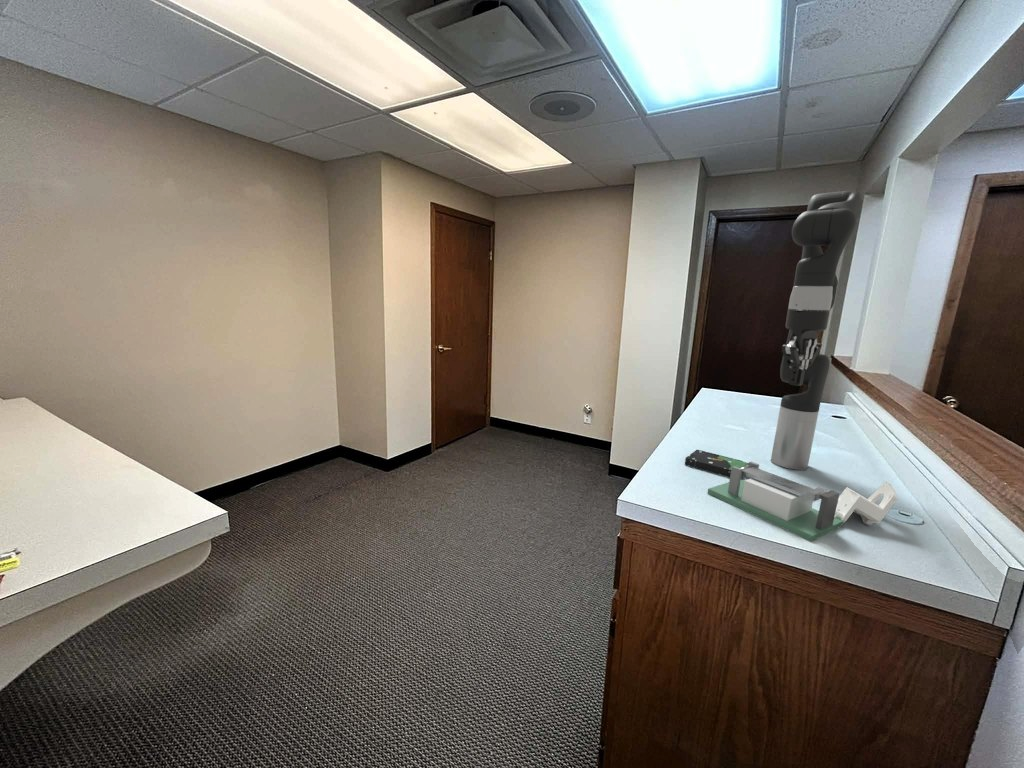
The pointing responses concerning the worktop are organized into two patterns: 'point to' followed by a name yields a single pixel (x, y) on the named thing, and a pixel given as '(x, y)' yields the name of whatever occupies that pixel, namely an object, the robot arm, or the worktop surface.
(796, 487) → the strap
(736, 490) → the board
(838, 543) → the worktop surface
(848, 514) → the mounting bracket
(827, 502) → the post
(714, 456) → the disk drive
